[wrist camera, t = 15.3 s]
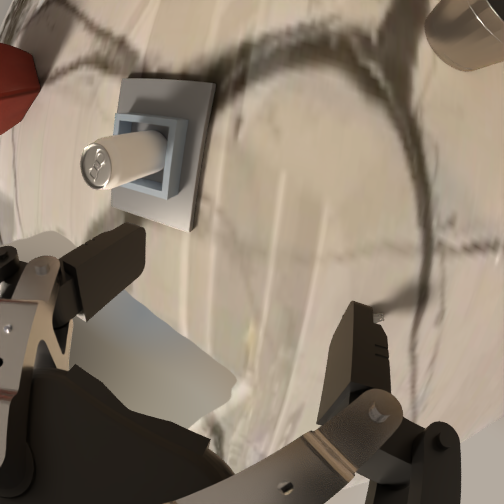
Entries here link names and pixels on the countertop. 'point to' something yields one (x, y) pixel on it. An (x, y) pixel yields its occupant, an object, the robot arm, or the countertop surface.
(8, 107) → the plant pot
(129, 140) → the can
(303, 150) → the countertop surface
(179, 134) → the housing
